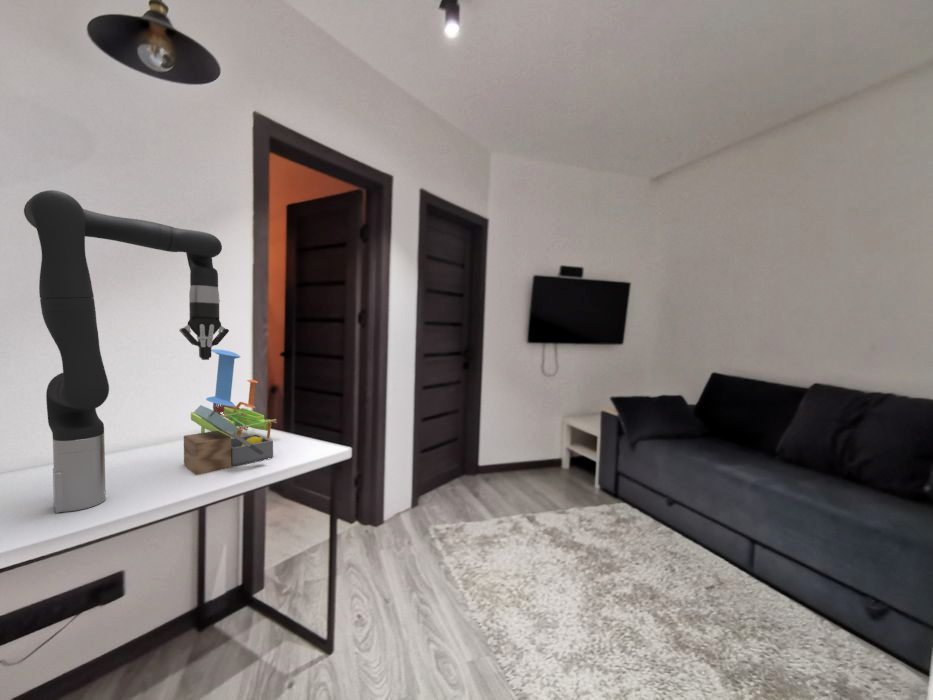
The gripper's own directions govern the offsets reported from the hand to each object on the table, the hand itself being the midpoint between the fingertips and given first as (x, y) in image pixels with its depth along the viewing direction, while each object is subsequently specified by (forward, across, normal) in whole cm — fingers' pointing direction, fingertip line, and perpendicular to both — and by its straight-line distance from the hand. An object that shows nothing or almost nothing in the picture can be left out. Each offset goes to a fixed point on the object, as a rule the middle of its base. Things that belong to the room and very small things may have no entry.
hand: (205, 359), depth 121 cm
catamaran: (+35, -19, -34) cm, 53 cm away
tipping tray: (+25, -7, -4) cm, 26 cm away
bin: (+35, -14, -8) cm, 38 cm away
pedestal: (+35, -2, -7) cm, 36 cm away
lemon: (+28, -19, -5) cm, 34 cm away
